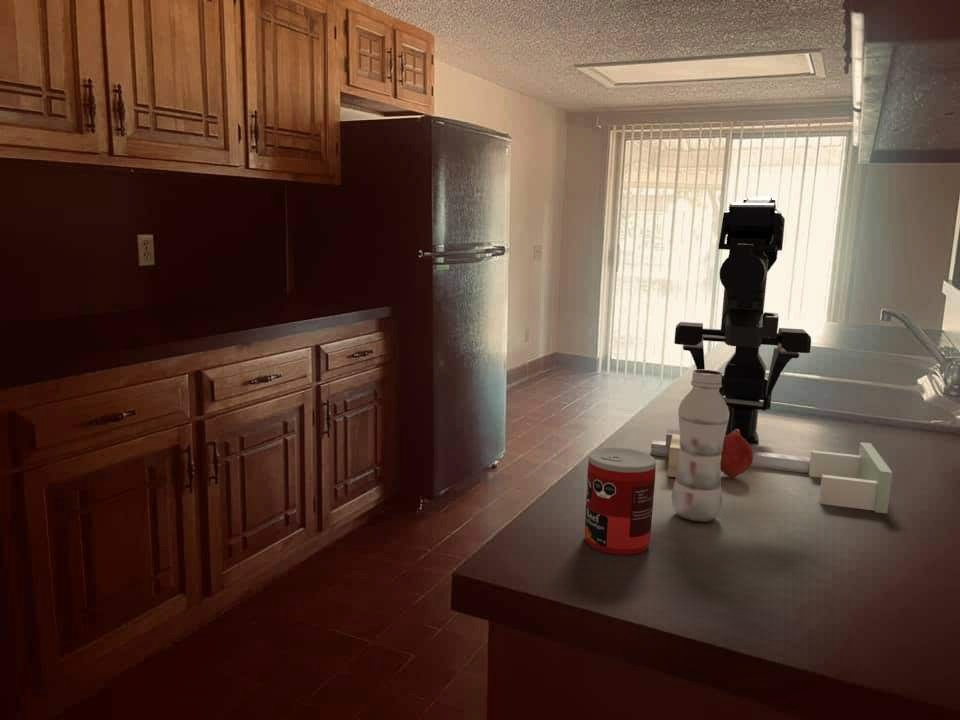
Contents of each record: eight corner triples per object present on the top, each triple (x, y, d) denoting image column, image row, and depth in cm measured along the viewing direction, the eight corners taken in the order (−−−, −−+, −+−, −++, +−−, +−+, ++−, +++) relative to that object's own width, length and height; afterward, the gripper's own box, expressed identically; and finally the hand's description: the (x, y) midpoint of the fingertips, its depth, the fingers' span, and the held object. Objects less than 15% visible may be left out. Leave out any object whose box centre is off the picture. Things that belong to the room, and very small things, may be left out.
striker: (666, 451, 126) (668, 425, 126) (696, 454, 125) (698, 428, 124) (661, 475, 114) (663, 446, 113) (694, 479, 112) (696, 450, 111)
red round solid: (708, 479, 113) (713, 430, 112) (715, 469, 118) (719, 422, 117) (747, 486, 111) (752, 436, 109) (753, 476, 116) (757, 427, 114)
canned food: (580, 528, 93) (585, 446, 91) (643, 531, 93) (649, 448, 91) (587, 555, 86) (592, 465, 84) (655, 557, 86) (662, 468, 84)
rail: (651, 450, 127) (652, 439, 127) (846, 473, 118) (847, 461, 118) (650, 454, 125) (651, 443, 125) (848, 478, 116) (850, 466, 116)
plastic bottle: (695, 530, 94) (708, 378, 90) (659, 512, 100) (670, 369, 96) (731, 522, 97) (745, 375, 93) (694, 505, 103) (706, 366, 99)
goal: (807, 472, 118) (812, 437, 117) (866, 479, 115) (870, 443, 114) (820, 505, 104) (825, 465, 103) (887, 513, 101) (892, 472, 100)
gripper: (677, 291, 102) (669, 399, 104) (822, 298, 96) (809, 412, 99) (679, 285, 112) (671, 384, 115) (810, 291, 107) (799, 394, 110)
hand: (735, 393), depth 110 cm, fingers open, 9 cm apart
